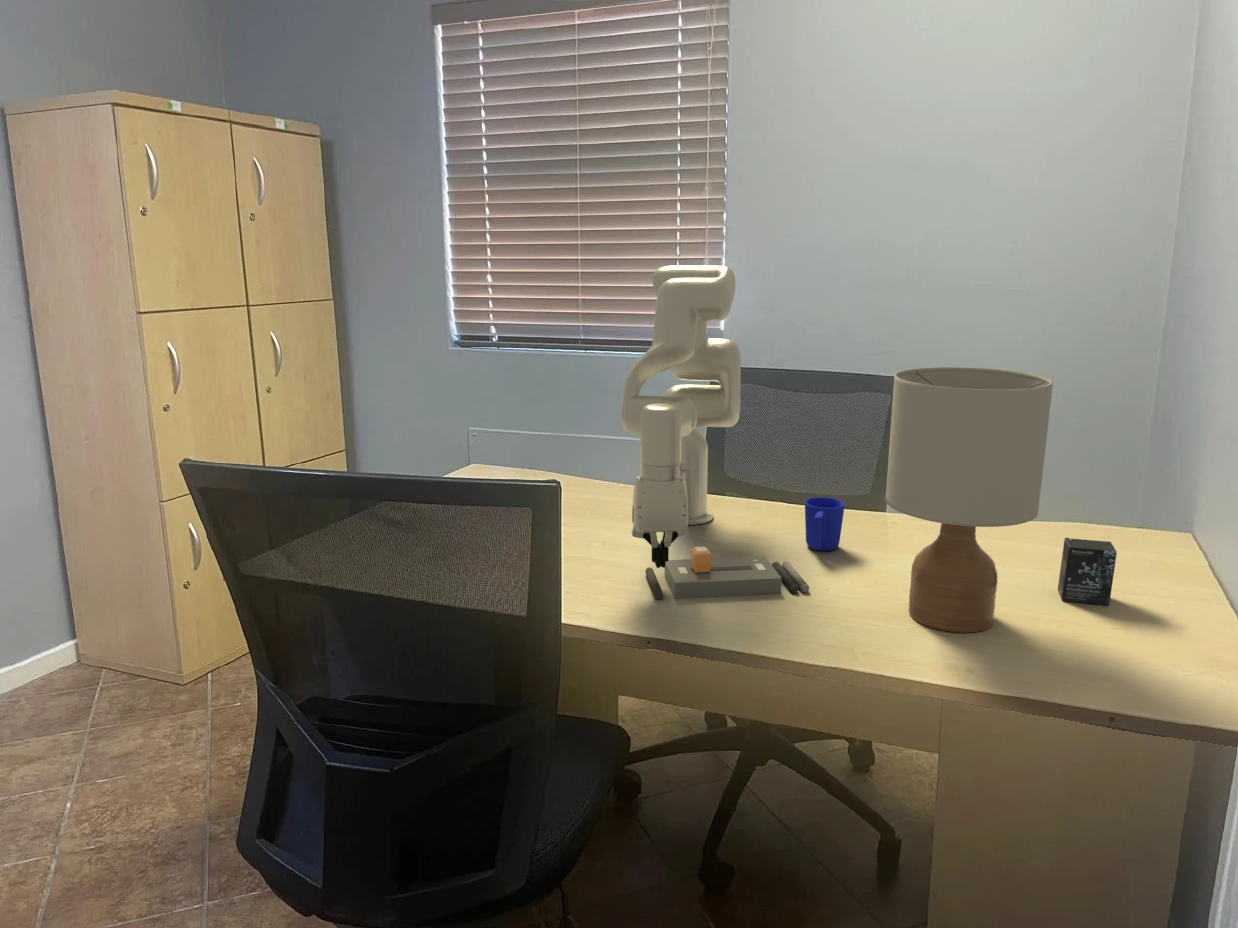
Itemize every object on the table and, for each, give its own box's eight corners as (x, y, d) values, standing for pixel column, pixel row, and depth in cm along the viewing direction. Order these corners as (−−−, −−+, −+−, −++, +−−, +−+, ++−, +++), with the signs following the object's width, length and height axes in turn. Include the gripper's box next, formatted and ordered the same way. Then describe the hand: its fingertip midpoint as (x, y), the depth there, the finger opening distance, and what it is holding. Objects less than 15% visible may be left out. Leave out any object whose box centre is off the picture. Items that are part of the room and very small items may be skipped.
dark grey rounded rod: (644, 574, 177) (644, 566, 177) (652, 573, 178) (652, 566, 177) (655, 600, 164) (655, 592, 164) (663, 600, 165) (663, 592, 164)
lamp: (863, 590, 169) (878, 367, 159) (993, 591, 168) (1017, 367, 158) (898, 646, 146) (918, 389, 135) (1049, 648, 145) (1080, 390, 135)
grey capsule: (771, 568, 180) (771, 560, 180) (779, 567, 180) (779, 560, 180) (791, 594, 167) (791, 586, 167) (799, 593, 167) (800, 585, 167)
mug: (795, 556, 187) (797, 510, 184) (806, 539, 197) (808, 495, 195) (835, 562, 184) (838, 515, 181) (844, 543, 194) (847, 499, 192)
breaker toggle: (691, 565, 173) (691, 546, 172) (706, 565, 173) (707, 545, 172) (694, 572, 169) (695, 552, 168) (710, 571, 170) (710, 551, 169)
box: (1061, 601, 163) (1068, 546, 161) (1057, 590, 169) (1063, 536, 166) (1110, 606, 161) (1117, 550, 158) (1103, 595, 166) (1111, 540, 164)
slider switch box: (664, 574, 177) (664, 559, 176) (763, 570, 179) (764, 555, 178) (675, 598, 166) (675, 582, 165) (781, 593, 168) (781, 577, 167)
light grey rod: (780, 567, 180) (781, 560, 180) (788, 567, 181) (789, 560, 180) (801, 593, 167) (802, 585, 167) (810, 593, 167) (810, 585, 167)
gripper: (696, 465, 170) (695, 556, 174) (617, 467, 168) (618, 560, 173) (704, 475, 163) (702, 570, 167) (622, 477, 161) (622, 574, 166)
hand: (659, 565), depth 170 cm, fingers closed
